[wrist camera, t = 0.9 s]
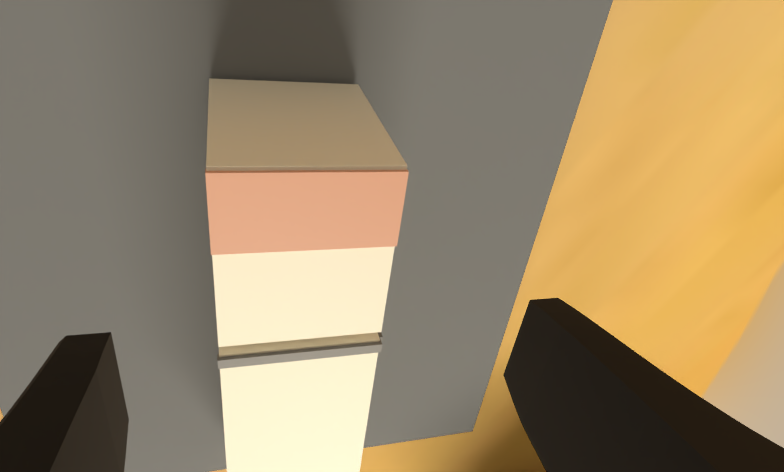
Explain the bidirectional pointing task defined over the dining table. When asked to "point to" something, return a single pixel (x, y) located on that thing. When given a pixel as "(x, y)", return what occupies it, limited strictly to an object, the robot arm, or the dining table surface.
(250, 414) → the cream box
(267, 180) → the block
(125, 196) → the mat
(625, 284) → the dining table surface
